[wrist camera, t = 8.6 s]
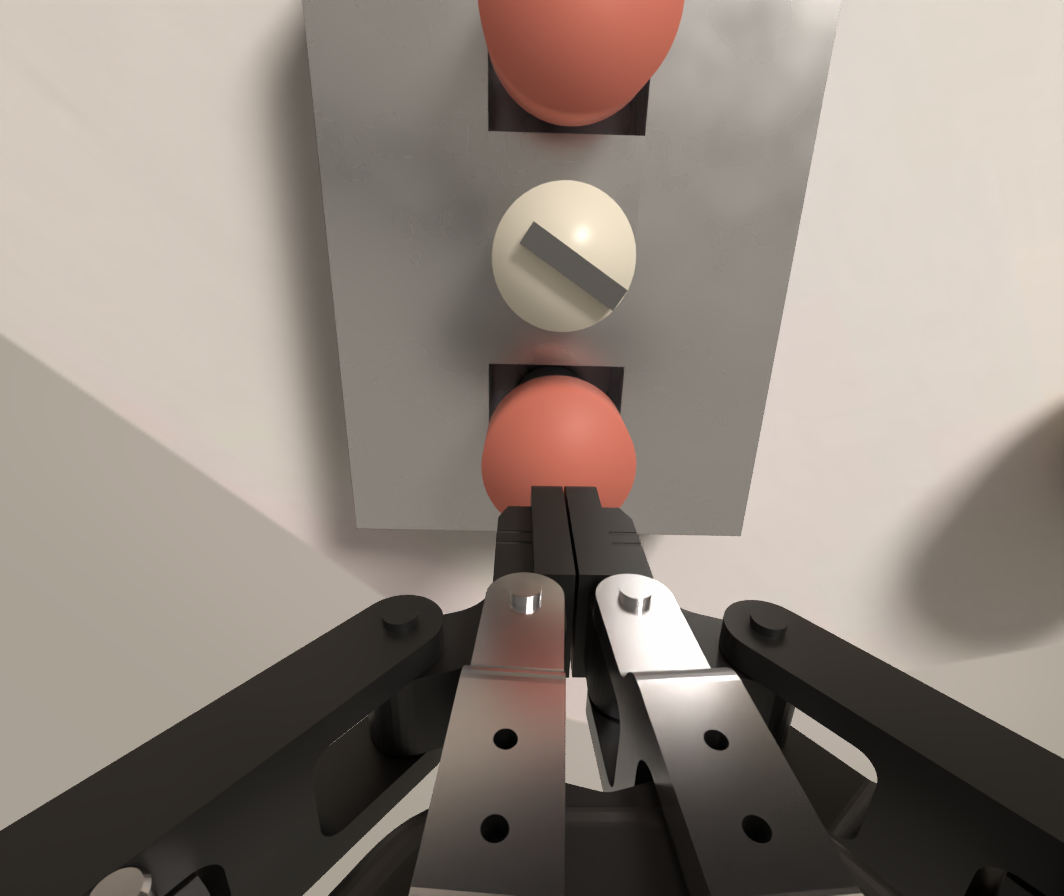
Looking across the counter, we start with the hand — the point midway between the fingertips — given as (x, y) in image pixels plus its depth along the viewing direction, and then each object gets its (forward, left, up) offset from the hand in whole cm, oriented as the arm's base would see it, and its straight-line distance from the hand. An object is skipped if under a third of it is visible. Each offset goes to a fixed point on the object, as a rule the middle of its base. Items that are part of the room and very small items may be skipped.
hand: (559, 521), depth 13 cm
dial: (0, +5, -6) cm, 8 cm away
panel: (0, +5, -11) cm, 13 cm away
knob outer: (0, 0, -9) cm, 9 cm away
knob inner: (0, +11, -9) cm, 14 cm away
